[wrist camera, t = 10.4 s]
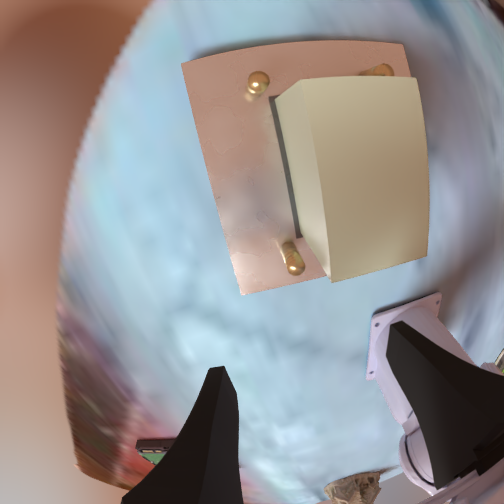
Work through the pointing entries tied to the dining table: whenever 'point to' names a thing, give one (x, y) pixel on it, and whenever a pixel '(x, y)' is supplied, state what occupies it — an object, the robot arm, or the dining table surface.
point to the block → (358, 170)
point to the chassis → (267, 146)
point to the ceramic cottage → (354, 489)
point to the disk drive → (153, 449)
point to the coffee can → (500, 362)
